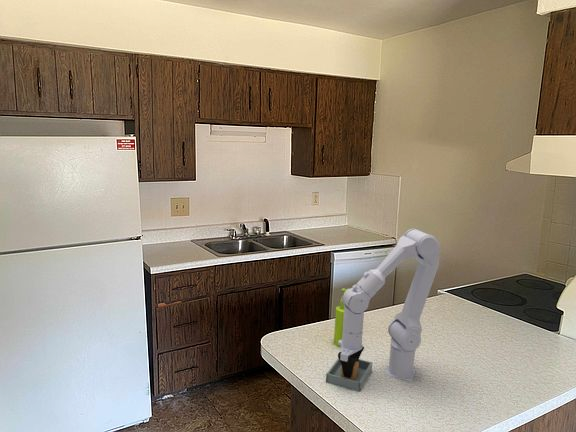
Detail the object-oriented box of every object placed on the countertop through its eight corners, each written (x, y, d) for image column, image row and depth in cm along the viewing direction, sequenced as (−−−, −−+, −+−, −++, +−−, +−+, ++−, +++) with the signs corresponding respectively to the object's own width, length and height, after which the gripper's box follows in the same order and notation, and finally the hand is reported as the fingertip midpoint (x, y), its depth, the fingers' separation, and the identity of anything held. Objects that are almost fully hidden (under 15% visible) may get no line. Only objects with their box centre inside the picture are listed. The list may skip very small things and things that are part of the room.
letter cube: (345, 371, 130) (346, 358, 129) (358, 374, 128) (358, 361, 128) (340, 377, 127) (341, 364, 126) (354, 380, 125) (355, 367, 124)
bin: (340, 363, 135) (341, 354, 135) (371, 371, 131) (372, 362, 131) (325, 383, 124) (326, 373, 123) (359, 393, 120) (360, 383, 119)
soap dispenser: (353, 350, 144) (357, 293, 141) (332, 347, 146) (336, 291, 142) (354, 342, 150) (358, 287, 147) (334, 339, 151) (338, 285, 148)
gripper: (347, 318, 133) (344, 358, 135) (331, 336, 120) (328, 381, 123) (369, 323, 130) (366, 364, 133) (355, 342, 117) (352, 388, 120)
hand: (349, 373), depth 127 cm, fingers closed on letter cube, 4 cm apart
